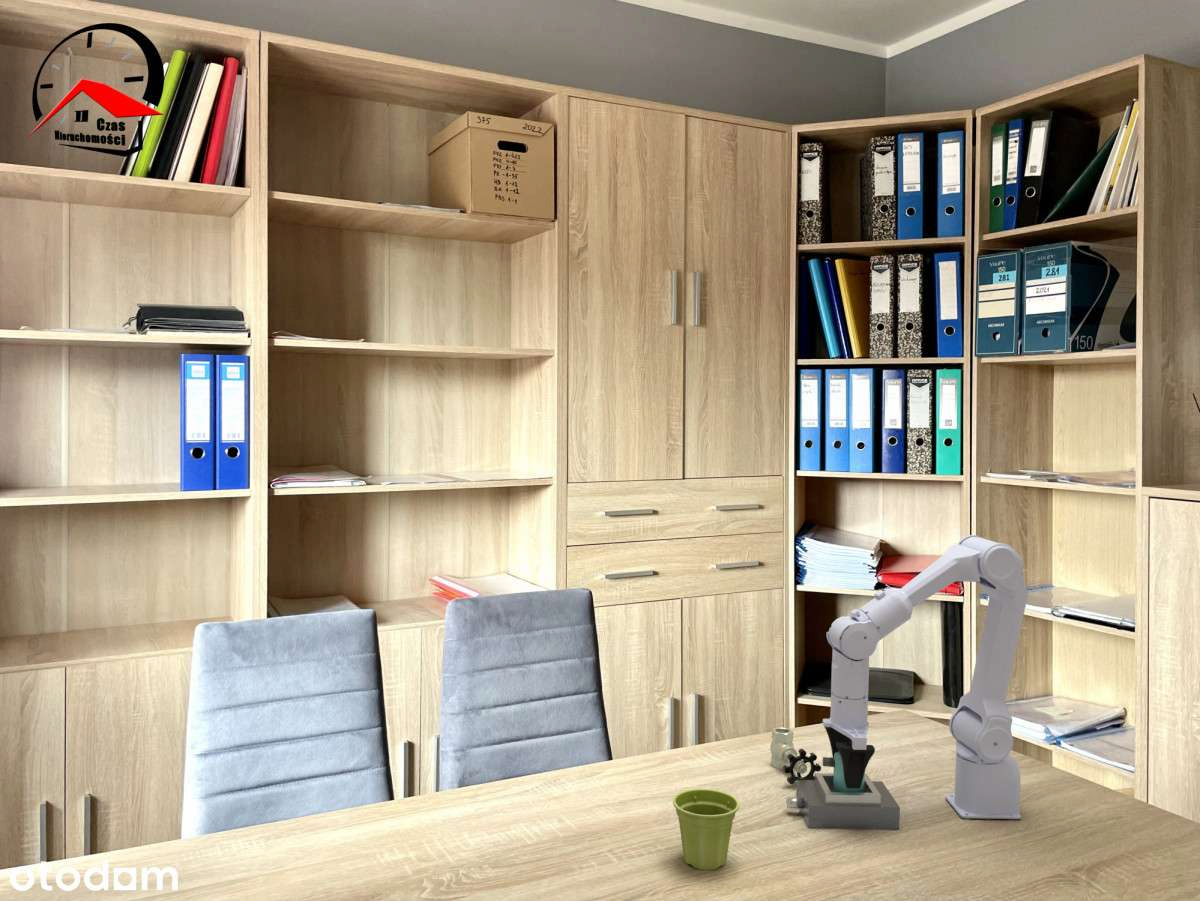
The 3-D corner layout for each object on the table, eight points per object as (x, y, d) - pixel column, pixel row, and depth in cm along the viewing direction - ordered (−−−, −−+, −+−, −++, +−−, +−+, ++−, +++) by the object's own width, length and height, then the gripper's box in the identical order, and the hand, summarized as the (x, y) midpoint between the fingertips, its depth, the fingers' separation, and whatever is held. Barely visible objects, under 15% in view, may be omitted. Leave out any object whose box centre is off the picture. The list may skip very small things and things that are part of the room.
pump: (861, 788, 158) (863, 751, 158) (865, 800, 153) (867, 762, 153) (820, 785, 159) (822, 748, 158) (823, 797, 154) (824, 759, 154)
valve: (760, 762, 178) (784, 789, 166) (761, 727, 177) (785, 751, 165) (794, 760, 179) (820, 787, 167) (795, 725, 178) (821, 749, 167)
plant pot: (670, 844, 145) (671, 787, 145) (734, 846, 145) (735, 788, 144) (673, 875, 136) (674, 815, 135) (741, 877, 136) (742, 816, 135)
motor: (881, 802, 161) (882, 772, 161) (899, 829, 151) (900, 797, 151) (781, 800, 161) (782, 770, 161) (792, 827, 151) (793, 796, 151)
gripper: (814, 679, 162) (812, 760, 163) (834, 708, 148) (832, 796, 148) (857, 680, 162) (855, 760, 163) (881, 709, 148) (878, 797, 148)
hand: (847, 777), depth 156 cm, fingers open, 7 cm apart
